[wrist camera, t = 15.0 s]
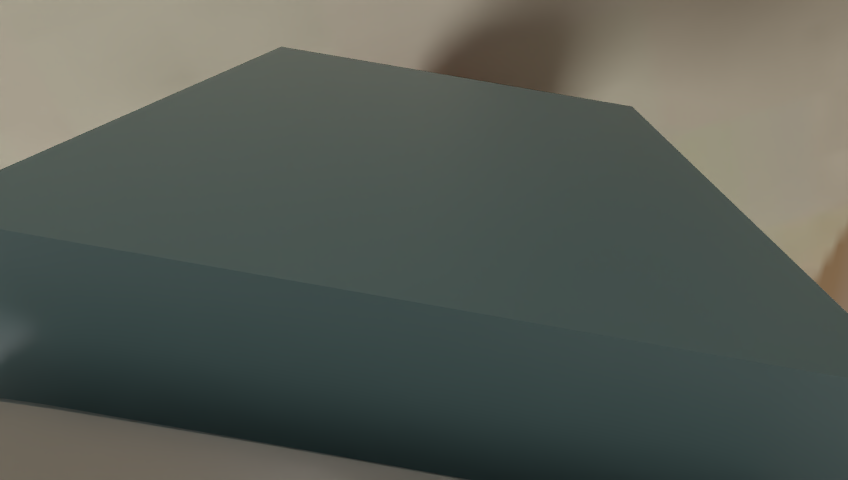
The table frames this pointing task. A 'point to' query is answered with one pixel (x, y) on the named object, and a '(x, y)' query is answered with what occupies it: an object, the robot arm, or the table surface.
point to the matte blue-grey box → (417, 283)
